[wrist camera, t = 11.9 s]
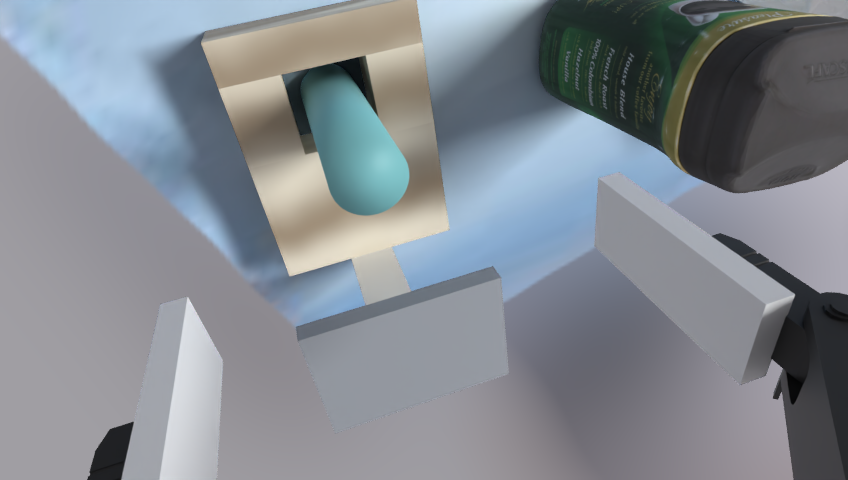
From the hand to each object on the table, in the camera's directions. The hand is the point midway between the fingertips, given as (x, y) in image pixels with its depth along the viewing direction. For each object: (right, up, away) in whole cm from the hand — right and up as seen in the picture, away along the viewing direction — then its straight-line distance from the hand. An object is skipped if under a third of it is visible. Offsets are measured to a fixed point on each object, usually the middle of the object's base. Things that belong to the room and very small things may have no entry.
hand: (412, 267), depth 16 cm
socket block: (-6, +8, +19) cm, 22 cm away
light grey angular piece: (-5, +3, +23) cm, 24 cm away
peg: (-6, +11, +18) cm, 21 cm away
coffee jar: (+13, +15, +21) cm, 29 cm away
